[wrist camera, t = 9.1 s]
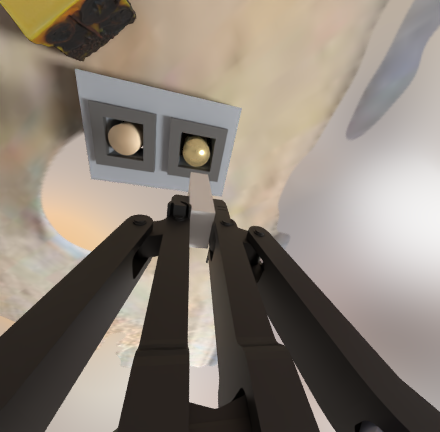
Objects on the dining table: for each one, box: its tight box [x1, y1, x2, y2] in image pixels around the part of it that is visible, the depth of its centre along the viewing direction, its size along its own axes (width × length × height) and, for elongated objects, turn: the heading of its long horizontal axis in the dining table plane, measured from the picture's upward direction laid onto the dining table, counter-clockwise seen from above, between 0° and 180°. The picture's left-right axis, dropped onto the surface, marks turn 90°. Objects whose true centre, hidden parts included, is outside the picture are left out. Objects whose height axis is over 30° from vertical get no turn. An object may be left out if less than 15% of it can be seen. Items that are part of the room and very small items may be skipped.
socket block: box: [75, 69, 242, 196], centre depth 30 cm, size 21×14×7 cm, turn 79°
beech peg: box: [108, 121, 143, 155], centre depth 29 cm, size 4×4×7 cm
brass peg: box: [183, 134, 210, 167], centre depth 31 cm, size 4×4×7 cm
